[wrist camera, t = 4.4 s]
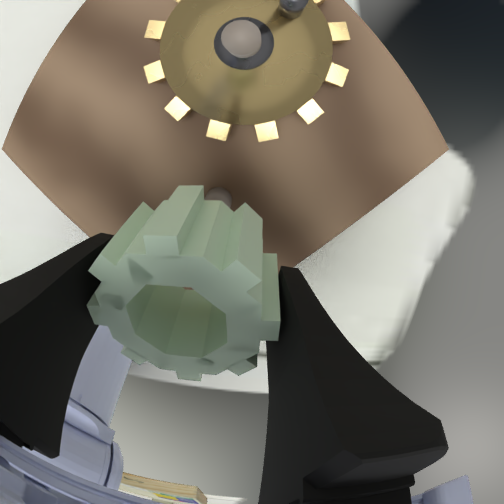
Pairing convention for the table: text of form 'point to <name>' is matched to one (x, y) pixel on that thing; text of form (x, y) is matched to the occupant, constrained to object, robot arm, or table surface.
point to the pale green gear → (189, 275)
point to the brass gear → (246, 62)
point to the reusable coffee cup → (162, 501)
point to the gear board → (210, 149)
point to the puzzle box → (162, 490)
